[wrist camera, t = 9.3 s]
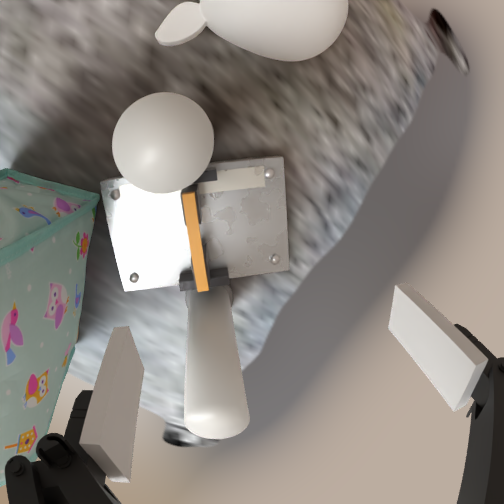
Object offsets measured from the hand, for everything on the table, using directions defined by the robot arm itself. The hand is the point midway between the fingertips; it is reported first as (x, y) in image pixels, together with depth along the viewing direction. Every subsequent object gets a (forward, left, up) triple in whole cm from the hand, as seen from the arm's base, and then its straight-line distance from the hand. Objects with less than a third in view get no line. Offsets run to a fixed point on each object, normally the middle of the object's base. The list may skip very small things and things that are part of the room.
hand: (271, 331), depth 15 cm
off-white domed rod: (-4, +9, -20) cm, 22 cm away
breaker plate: (-4, 0, -20) cm, 21 cm away
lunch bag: (-24, -2, -21) cm, 32 cm away
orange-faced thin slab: (-4, 0, -18) cm, 19 cm away
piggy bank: (+3, +22, -21) cm, 30 cm away
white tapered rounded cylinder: (-4, -9, -20) cm, 23 cm away
